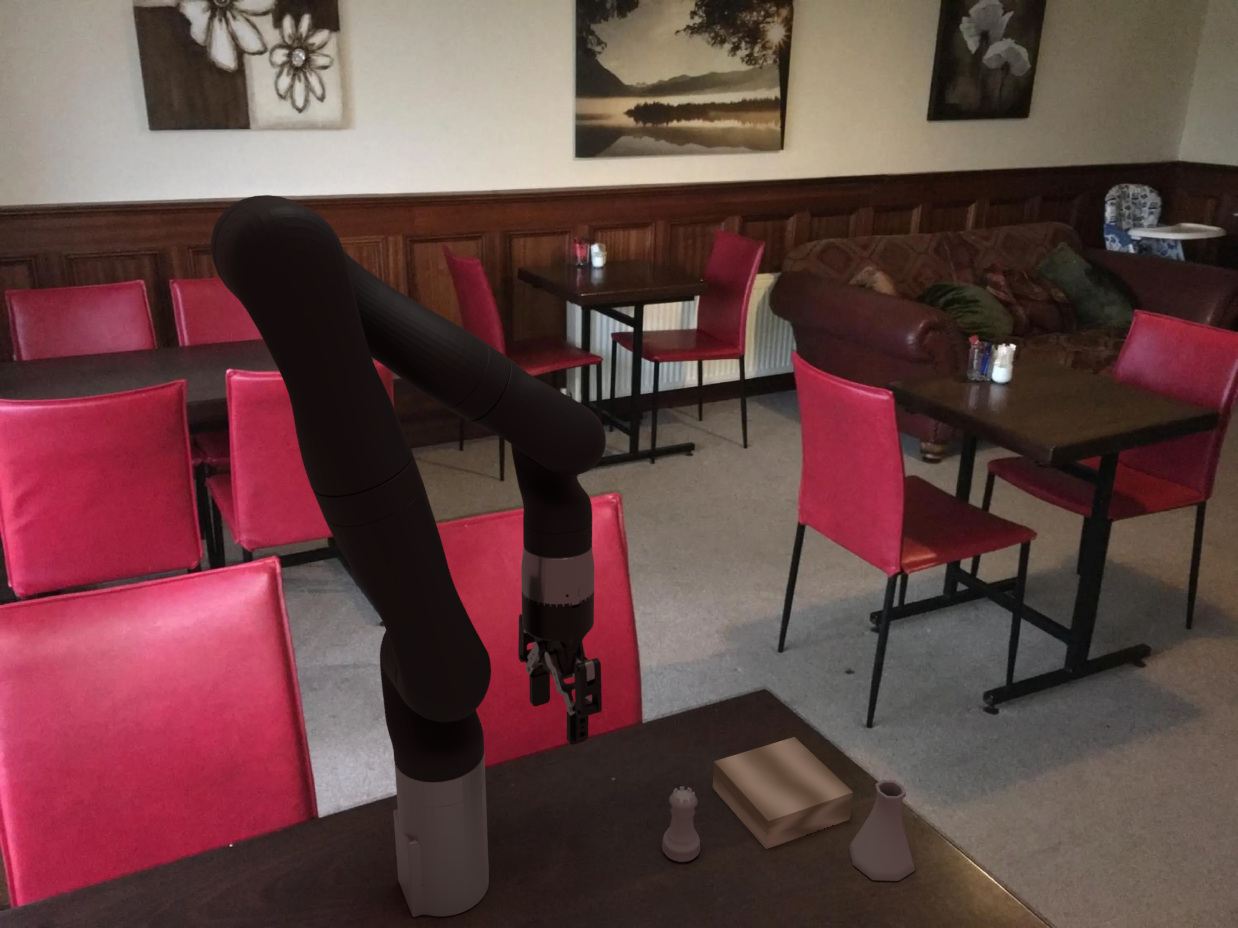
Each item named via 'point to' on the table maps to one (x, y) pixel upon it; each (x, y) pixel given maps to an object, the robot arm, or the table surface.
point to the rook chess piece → (682, 827)
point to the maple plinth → (781, 792)
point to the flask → (883, 837)
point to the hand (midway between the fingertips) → (558, 721)
